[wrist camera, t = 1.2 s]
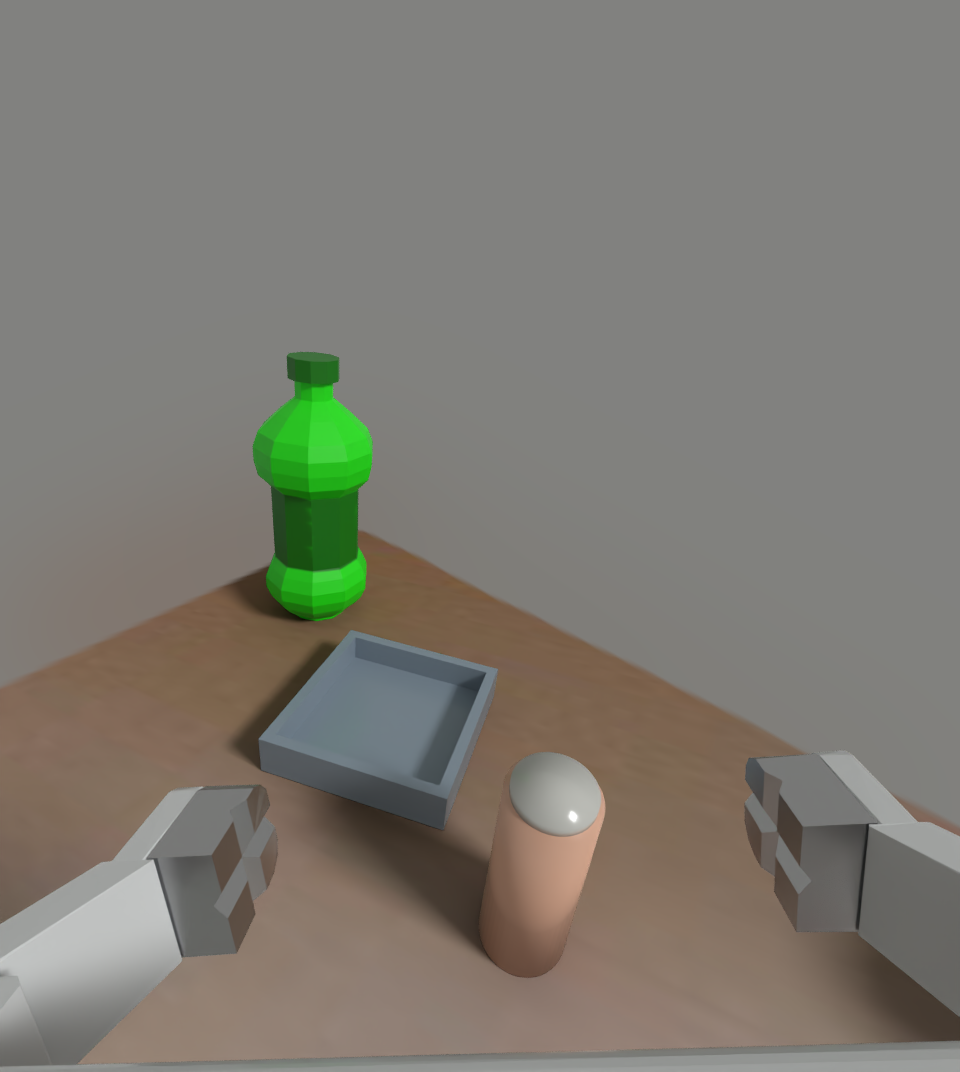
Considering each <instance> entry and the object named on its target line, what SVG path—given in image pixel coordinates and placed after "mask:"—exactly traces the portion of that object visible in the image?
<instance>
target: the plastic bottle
mask: <svg viewBox="0 0 960 1072" xmlns="http://www.w3.org/2000/svg"><path fill="white" fill-rule="evenodd" d="M287 371H288V378H289V379H291V380H293V381H295V396H294V397H293V398H292V399H290V400H289V401H288V402H287V403H286V404H284V405H283V406H281V407H280V408H279V409H278V410H277V411H276V412H275V413H274V414H273V415H271V416H270V417H269V418H268V419H267V420H266V421H265V422H264V423H263V425H262V426H261V427H260V429H259V430H258V432H257V435H256V438H255V441H254V444H253V457H254V463H255V466H256V469H257V473H258V475H259V476H260V477H261V478H262V479H264V480H265V481H266V482H267V483H268V484H269V485H271V493H272V510H273V526H274V542H275V553H274V556H273V559H272V561H271V564H270V567H269V569H268V572H267V575H266V584H267V588H268V590H269V592H270V593H271V595H272V596H273V597H274V598H275V599H276V600H277V601H278V602H279V603H280V604H281V605H282V606H283V607H284V608H285V609H286V610H288V611H289V612H290V613H293V614H295V615H297V616H299V617H300V618H303V619H308V620H313V621H319V620H325V619H331V618H334V617H335V616H336V615H338V614H339V613H341V612H342V611H343V610H344V609H346V608H347V607H349V606H350V605H352V604H353V603H355V602H356V601H357V600H358V599H359V598H360V597H361V595H362V593H363V591H364V589H365V582H366V561H365V559H364V556H363V554H362V552H361V551H360V549H359V548H358V489H359V488H360V487H361V486H362V485H363V484H364V483H365V482H367V481H368V478H369V474H370V470H371V465H372V445H373V442H372V439H371V436H370V433H369V431H368V428H367V427H366V426H365V425H364V424H363V423H361V421H359V420H358V419H357V418H356V417H355V416H354V415H353V414H352V413H351V412H350V411H349V410H347V408H345V407H344V406H343V405H342V404H340V403H339V402H338V401H337V400H336V399H335V398H333V383H335V382H338V381H339V357H336V356H333V355H330V354H323V353H315V352H314V353H313V352H297V353H290V354H288V355H287Z"/></svg>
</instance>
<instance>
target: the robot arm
mask: <svg viewBox="0 0 960 1072" xmlns="http://www.w3.org/2000/svg"><path fill="white" fill-rule="evenodd" d="M745 780H746V782H747V783H748V785H749V786H750V788H751V790H752V791H753V793H752V794H751V796H750V797H749V798H748V799H747V801H746V802H745V825H746V830H747V835H748V840H749V842H750V845H751V848H752V851H753V853H754V855H755V857H756V859H757V861H758V863H759V865H760V867H761V868H763V869H764V870H766V871H767V872H769V873H770V874H772V875H773V876H774V877H775V884H774V892H775V894H776V896H777V898H778V900H779V901H780V903H781V905H782V907H783V909H784V911H785V912H786V914H787V916H788V918H789V920H790V921H791V923H792V925H793V927H794V929H795V930H796V932H859V933H858V935H859V936H860V937H862V938H863V939H864V940H865V941H867V942H868V943H869V944H870V945H871V946H873V947H874V948H875V949H876V950H878V951H879V952H880V953H881V954H882V955H884V956H885V957H886V958H887V959H889V960H890V961H891V962H892V963H894V964H895V965H896V966H897V967H898V968H900V969H901V970H902V971H903V972H905V973H906V974H907V975H908V976H910V977H911V978H912V979H913V980H914V981H916V982H917V983H918V984H919V985H921V986H922V987H923V988H924V989H925V990H927V991H928V992H929V993H930V994H932V995H933V996H934V997H935V998H937V999H938V1000H939V1001H940V1002H941V1003H943V1004H944V1005H945V1006H946V1007H948V1008H949V1009H950V1010H951V1011H953V1012H954V1013H955V1014H956V1015H957V1016H959V1017H960V837H959V836H957V835H955V834H953V833H951V832H949V831H947V830H945V829H943V828H941V827H938V826H936V825H934V824H932V823H930V822H917V821H916V820H915V819H914V818H913V816H912V815H911V814H910V813H909V812H908V811H907V810H906V809H905V808H904V807H903V806H902V805H901V804H900V803H899V802H898V801H897V800H896V799H895V798H894V797H893V796H892V795H891V794H890V793H889V792H888V791H887V790H886V789H885V788H884V787H883V786H882V785H881V784H880V783H879V782H878V780H877V779H876V778H875V777H874V776H873V775H872V774H871V773H870V772H869V771H868V770H867V769H866V768H865V767H864V766H863V765H862V764H861V763H860V762H859V761H858V760H857V759H856V758H855V757H854V756H853V755H852V754H850V753H849V752H846V751H844V750H841V751H830V752H819V753H812V754H806V755H789V756H773V757H756V758H749V759H748V761H747V764H746V775H745ZM269 806H270V802H269V799H268V795H267V791H266V788H264V787H263V786H261V785H233V786H206V787H185V788H177V789H174V790H172V791H170V792H169V793H168V794H167V795H166V796H165V798H164V799H163V800H162V801H161V802H160V804H159V805H158V806H157V807H156V808H155V810H154V811H153V812H152V813H151V814H150V816H149V817H148V818H147V819H146V821H145V822H144V823H143V824H142V825H141V827H140V828H139V829H138V830H137V831H136V833H135V834H134V835H133V836H132V837H131V839H130V840H129V841H128V842H127V843H126V845H125V846H124V847H123V848H122V849H121V851H120V852H119V853H118V854H117V855H116V857H115V858H114V859H113V860H112V861H111V862H101V863H100V864H98V865H96V866H95V867H93V868H91V869H90V870H88V871H87V872H85V873H83V874H82V875H80V876H78V877H77V878H75V879H73V880H72V881H70V882H69V883H67V884H65V885H64V886H62V887H60V888H59V889H57V890H55V891H54V892H52V893H50V894H49V895H47V896H46V897H44V898H42V899H41V900H39V901H37V902H36V903H34V904H32V905H31V906H29V907H28V908H26V909H24V910H23V911H21V912H19V913H18V914H16V915H14V916H13V917H11V918H10V919H8V920H6V921H5V922H3V923H1V924H0V1072H960V1041H932V1042H895V1043H859V1044H823V1045H785V1046H747V1047H709V1048H670V1049H632V1050H593V1051H556V1052H519V1053H482V1054H446V1055H409V1056H372V1057H335V1058H298V1059H261V1060H224V1061H187V1062H150V1063H113V1064H77V1063H78V1062H79V1061H80V1060H81V1059H82V1058H83V1057H84V1056H85V1055H87V1054H88V1053H89V1052H90V1051H91V1050H92V1049H93V1048H94V1047H95V1046H96V1045H97V1044H98V1043H99V1042H100V1041H101V1040H102V1039H103V1038H104V1037H105V1036H106V1035H107V1034H108V1033H109V1032H110V1031H111V1030H112V1029H113V1028H114V1027H115V1026H116V1025H117V1024H118V1023H119V1022H120V1021H121V1020H122V1019H123V1018H124V1017H125V1016H126V1015H127V1014H128V1013H129V1012H130V1011H131V1010H132V1009H133V1008H134V1007H136V1006H137V1005H138V1004H139V1003H140V1002H141V1001H142V1000H143V999H144V998H145V997H146V996H147V995H148V994H149V993H150V992H151V991H152V990H153V989H154V988H155V987H156V986H157V985H158V984H159V983H160V982H161V981H162V980H163V979H164V978H165V977H166V976H167V975H168V974H169V973H170V972H171V971H172V970H173V969H174V968H175V967H176V966H177V965H178V964H179V963H180V962H181V961H182V957H194V956H208V955H222V954H236V953H237V952H238V950H239V948H240V945H241V943H242V941H243V939H244V937H245V935H246V933H247V931H248V929H249V926H250V924H251V922H252V920H253V918H254V916H255V910H254V905H253V900H255V899H256V898H257V897H258V896H259V895H261V894H262V893H263V892H264V891H265V890H266V889H267V888H268V886H269V883H270V881H271V879H272V877H273V874H274V870H275V865H276V861H277V856H278V839H277V834H276V829H275V827H274V826H273V825H272V824H271V823H270V822H269V821H268V820H267V819H266V818H265V817H264V815H265V814H266V812H267V810H268V808H269Z"/></svg>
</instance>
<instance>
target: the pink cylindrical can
mask: <svg viewBox="0 0 960 1072" xmlns="http://www.w3.org/2000/svg"><path fill="white" fill-rule="evenodd" d="M604 815H605V800H604V796H603V793H602V791H601V789H600V787H599V785H598V783H597V781H596V780H595V778H594V777H593V775H592V774H591V773H590V772H589V770H588V769H587V768H585V767H584V766H583V765H582V764H580V763H579V762H578V761H576V760H574V759H572V758H570V757H568V756H565V755H562V754H558V753H552V752H540V753H535V754H532V755H529V756H527V757H525V758H524V759H522V760H520V761H518V762H517V763H515V764H514V765H513V766H512V767H511V768H510V770H509V771H508V773H507V774H506V777H505V779H504V783H503V789H502V794H501V800H500V805H499V811H498V816H497V822H496V827H495V833H494V839H493V844H492V850H491V855H490V861H489V866H488V872H487V877H486V883H485V888H484V894H483V899H482V905H481V911H480V916H479V934H480V938H481V942H482V944H483V947H484V949H485V951H486V953H487V954H488V956H489V957H490V958H491V960H492V961H493V962H494V963H495V964H496V965H497V966H498V967H500V968H501V969H502V970H504V971H506V972H507V973H510V974H512V975H515V976H518V977H524V978H531V977H537V976H540V975H543V974H545V973H547V972H548V971H549V970H551V969H552V968H553V967H554V966H555V965H556V964H557V962H558V961H559V960H560V958H561V956H562V953H563V950H564V947H565V944H566V941H567V937H568V934H569V931H570V927H571V924H572V921H573V918H574V914H575V911H576V908H577V904H578V901H579V898H580V895H581V891H582V888H583V885H584V881H585V878H586V875H587V872H588V868H589V865H590V862H591V858H592V855H593V852H594V849H595V845H596V842H597V839H598V835H599V832H600V829H601V826H602V822H603V819H604Z"/></svg>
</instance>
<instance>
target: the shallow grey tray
mask: <svg viewBox="0 0 960 1072" xmlns="http://www.w3.org/2000/svg"><path fill="white" fill-rule="evenodd" d="M497 673H498V669H495V668H492V667H488V666H484V665H480V664H477V663H473V662H469V661H465V660H462V659H458V658H454V657H450V656H447V655H443V654H439V653H435V652H432V651H428V650H424V649H420V648H417V647H413V646H409V645H405V644H402V643H398V642H394V641H390V640H387V639H383V638H379V637H375V636H372V635H368V634H364V633H360V632H357V631H353V630H351V631H350V632H349V633H348V635H347V636H346V637H345V638H344V639H343V640H342V642H341V643H340V644H339V645H338V646H337V647H336V649H335V650H334V651H333V652H332V653H331V654H330V656H329V657H328V658H327V659H326V660H325V662H324V663H323V664H322V665H321V666H320V667H319V669H318V670H317V671H316V672H315V673H314V674H313V676H312V677H311V678H310V679H309V680H308V681H307V683H306V684H305V685H304V686H303V687H302V689H301V690H300V691H299V692H298V693H297V694H296V696H295V697H294V698H293V699H292V700H291V701H290V703H289V704H288V705H287V706H286V707H285V708H284V710H283V711H282V712H281V713H280V714H279V716H278V717H277V718H276V719H275V720H274V721H273V723H272V724H271V725H270V726H269V727H268V728H267V730H266V731H265V732H264V733H263V734H262V735H261V737H260V738H259V739H258V740H259V751H260V762H261V770H262V771H265V772H268V773H271V774H274V775H277V776H280V777H283V778H286V779H289V780H292V781H295V782H298V783H301V784H304V785H307V786H310V787H313V788H316V789H319V790H322V791H325V792H329V793H332V794H335V795H338V796H341V797H344V798H347V799H350V800H353V801H356V802H359V803H362V804H365V805H368V806H371V807H374V808H377V809H380V810H383V811H386V812H389V813H392V814H395V815H398V816H401V817H404V818H407V819H410V820H413V821H416V822H419V823H422V824H425V825H428V826H431V827H434V828H437V829H440V830H444V828H445V825H446V822H447V820H448V817H449V814H450V812H451V809H452V806H453V804H454V801H455V798H456V796H457V793H458V790H459V788H460V785H461V782H462V780H463V777H464V774H465V772H466V769H467V766H468V764H469V761H470V758H471V756H472V753H473V750H474V748H475V745H476V742H477V740H478V737H479V734H480V732H481V729H482V726H483V724H484V721H485V719H486V716H487V713H488V711H489V708H490V705H491V703H492V700H493V697H494V692H495V686H496V679H497Z"/></svg>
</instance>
